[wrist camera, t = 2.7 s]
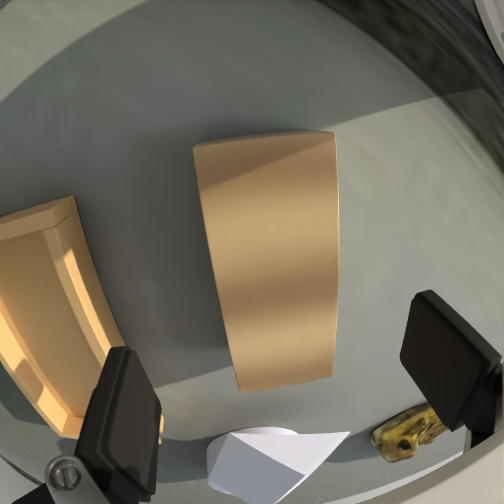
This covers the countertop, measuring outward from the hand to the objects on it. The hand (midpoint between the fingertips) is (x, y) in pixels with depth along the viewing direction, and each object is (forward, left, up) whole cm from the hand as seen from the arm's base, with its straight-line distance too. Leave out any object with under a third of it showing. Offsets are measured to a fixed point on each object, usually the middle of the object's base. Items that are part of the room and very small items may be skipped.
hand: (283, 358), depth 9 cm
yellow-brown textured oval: (+24, +17, -7) cm, 30 cm away
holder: (+4, -13, -7) cm, 16 cm away
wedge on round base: (+18, -1, -7) cm, 19 cm away
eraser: (0, +1, -7) cm, 7 cm away
